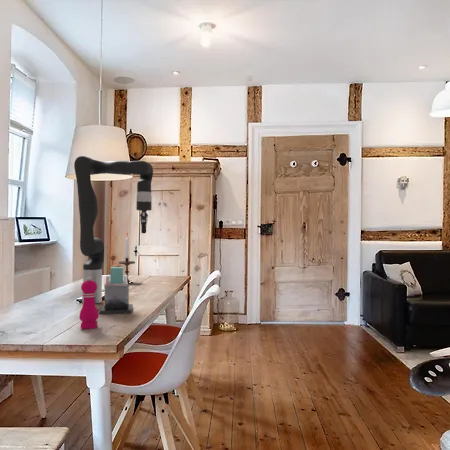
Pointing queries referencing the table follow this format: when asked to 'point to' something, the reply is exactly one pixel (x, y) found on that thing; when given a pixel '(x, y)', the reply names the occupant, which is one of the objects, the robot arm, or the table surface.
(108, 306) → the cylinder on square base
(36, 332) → the table surface
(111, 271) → the turquoise cube
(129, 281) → the candlestick
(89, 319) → the pepper mill
